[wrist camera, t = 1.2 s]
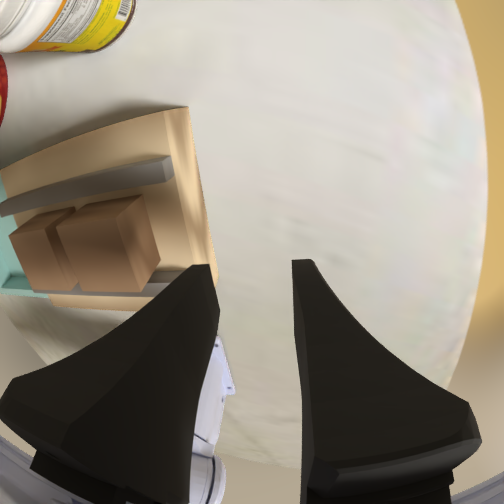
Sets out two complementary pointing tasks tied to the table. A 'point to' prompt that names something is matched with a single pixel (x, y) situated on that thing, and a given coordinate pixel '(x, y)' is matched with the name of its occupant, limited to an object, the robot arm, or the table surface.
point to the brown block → (111, 245)
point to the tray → (11, 259)
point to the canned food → (3, 88)
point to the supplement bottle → (63, 24)
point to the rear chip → (44, 251)
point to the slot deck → (122, 195)
